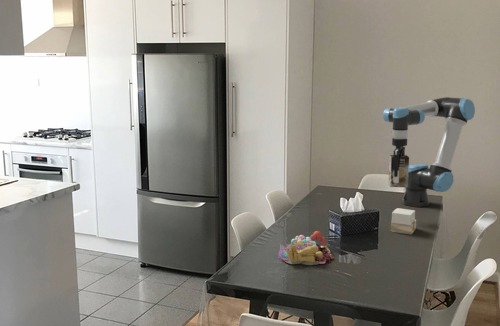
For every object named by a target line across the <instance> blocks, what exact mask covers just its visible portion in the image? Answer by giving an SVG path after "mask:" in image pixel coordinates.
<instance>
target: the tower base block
mask: <svg viewBox="0 0 500 326" xmlns="http://www.w3.org/2000/svg"><path fill="white" fill-rule="evenodd" d="M416 229H417V219H415V220H414V221H413V222H412V224H411V225H406V224H399V223H392V221H391V222H390V232H393V233H399V234H405V235H411V236H412V235H413V233H414V232H415V231H416Z"/></svg>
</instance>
